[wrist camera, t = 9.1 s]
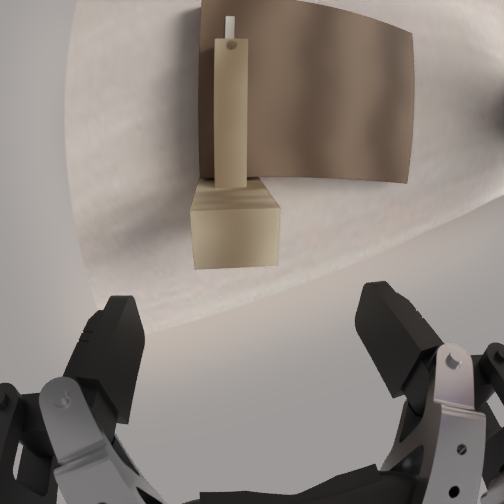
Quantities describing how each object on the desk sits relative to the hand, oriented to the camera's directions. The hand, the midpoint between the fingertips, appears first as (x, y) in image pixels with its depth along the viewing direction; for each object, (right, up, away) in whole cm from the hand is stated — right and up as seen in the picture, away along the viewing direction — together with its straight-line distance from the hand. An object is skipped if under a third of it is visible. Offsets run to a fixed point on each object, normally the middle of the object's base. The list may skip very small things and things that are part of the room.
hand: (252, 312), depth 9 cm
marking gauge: (-2, +11, +10) cm, 14 cm away
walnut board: (+5, +15, +9) cm, 18 cm away
